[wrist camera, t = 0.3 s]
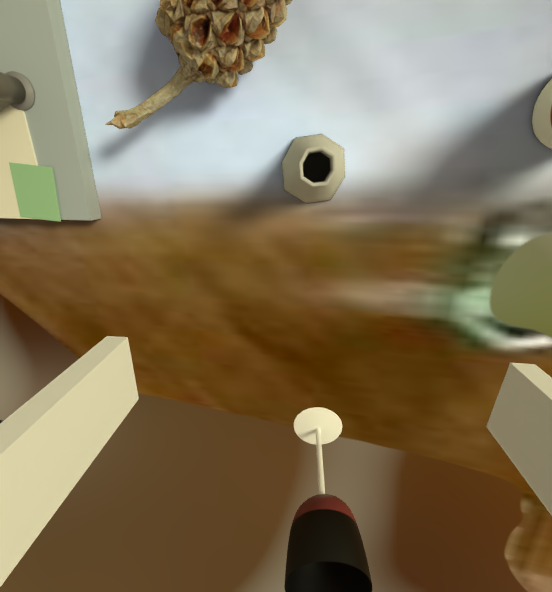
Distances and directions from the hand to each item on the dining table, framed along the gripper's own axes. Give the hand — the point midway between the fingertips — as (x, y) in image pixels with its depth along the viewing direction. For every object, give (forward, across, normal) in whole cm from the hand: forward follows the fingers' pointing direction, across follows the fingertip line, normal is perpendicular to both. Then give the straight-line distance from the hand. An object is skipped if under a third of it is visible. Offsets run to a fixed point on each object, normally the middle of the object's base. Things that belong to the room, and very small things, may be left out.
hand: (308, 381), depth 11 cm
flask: (+28, +1, +7) cm, 29 cm away
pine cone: (+28, -10, +17) cm, 35 cm away
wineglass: (+28, +4, -30) cm, 41 cm away
